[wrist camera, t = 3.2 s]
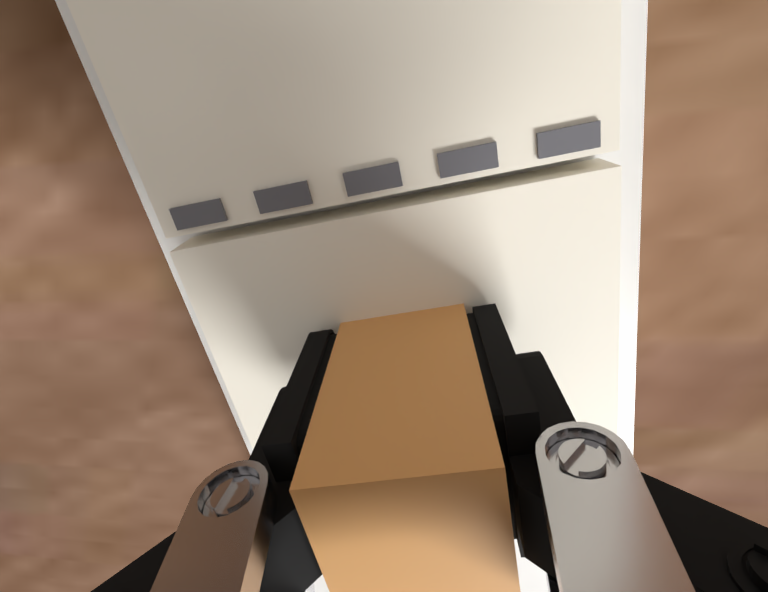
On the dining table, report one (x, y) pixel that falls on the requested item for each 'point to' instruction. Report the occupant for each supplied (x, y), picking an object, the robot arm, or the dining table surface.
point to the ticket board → (365, 113)
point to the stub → (416, 357)
